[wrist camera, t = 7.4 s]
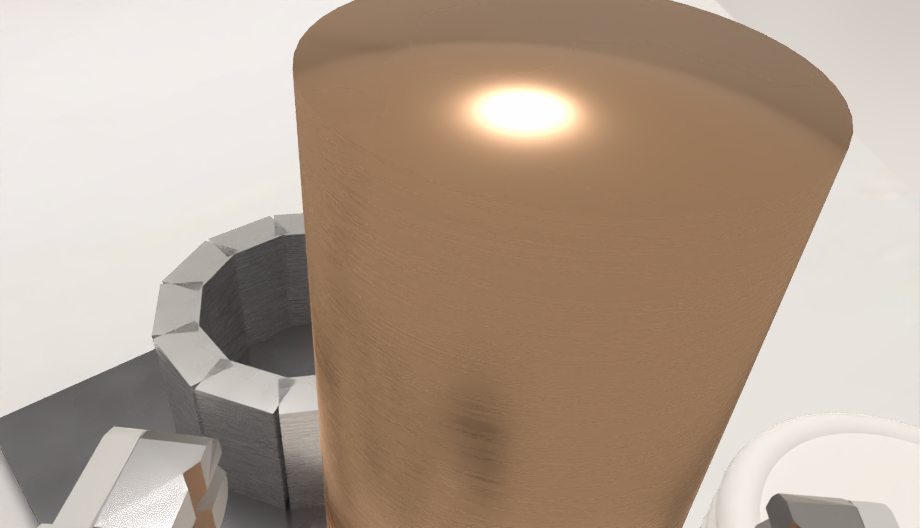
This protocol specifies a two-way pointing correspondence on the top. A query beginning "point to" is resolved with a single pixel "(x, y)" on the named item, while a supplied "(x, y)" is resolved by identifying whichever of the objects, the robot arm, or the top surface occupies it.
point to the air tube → (545, 250)
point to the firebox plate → (129, 406)
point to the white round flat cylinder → (823, 468)
